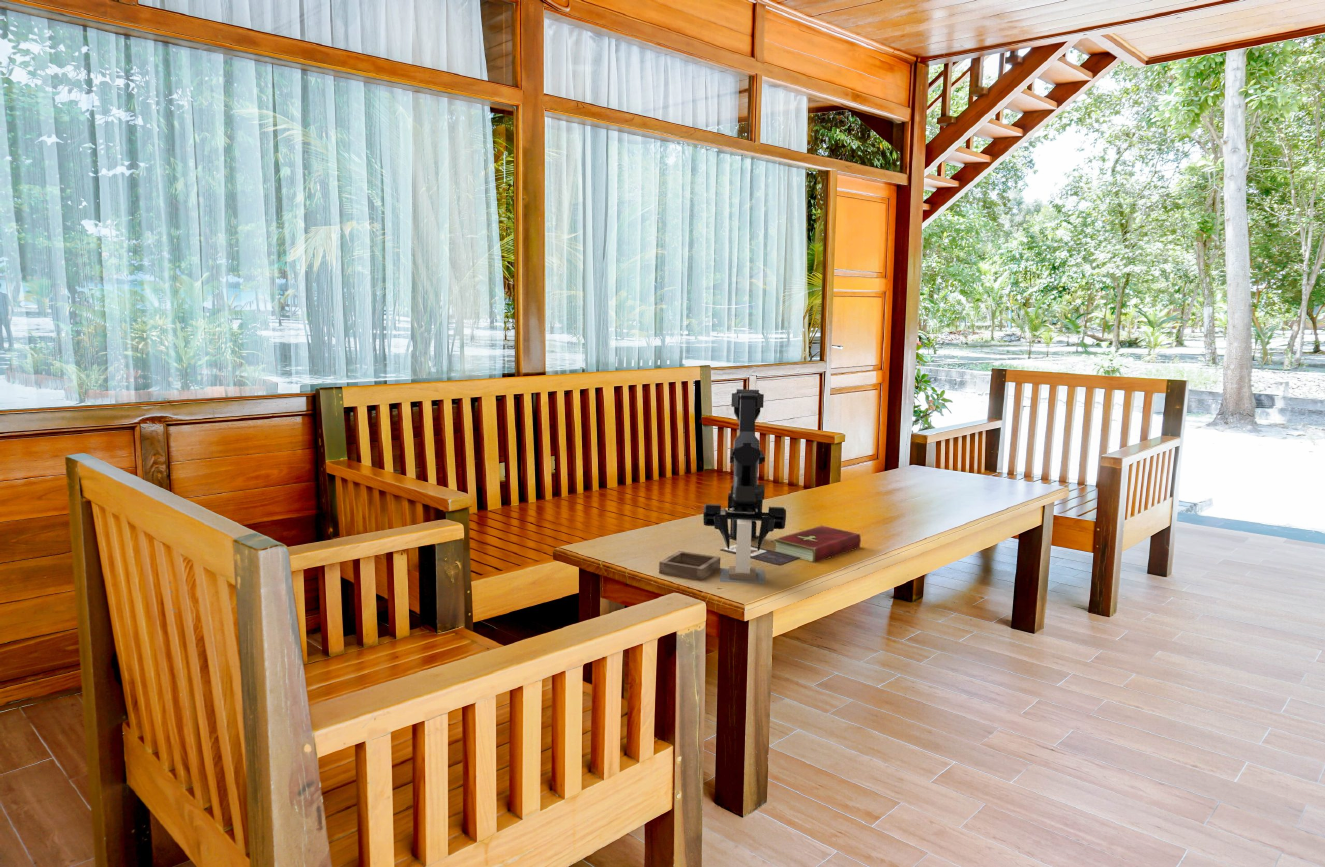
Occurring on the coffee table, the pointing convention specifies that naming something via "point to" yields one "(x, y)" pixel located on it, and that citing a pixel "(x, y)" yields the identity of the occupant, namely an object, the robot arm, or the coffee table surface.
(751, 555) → the chocolate bar
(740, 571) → the grey tall square post
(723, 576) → the mat
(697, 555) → the brown square tray
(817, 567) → the coffee table surface
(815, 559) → the hardcover book
